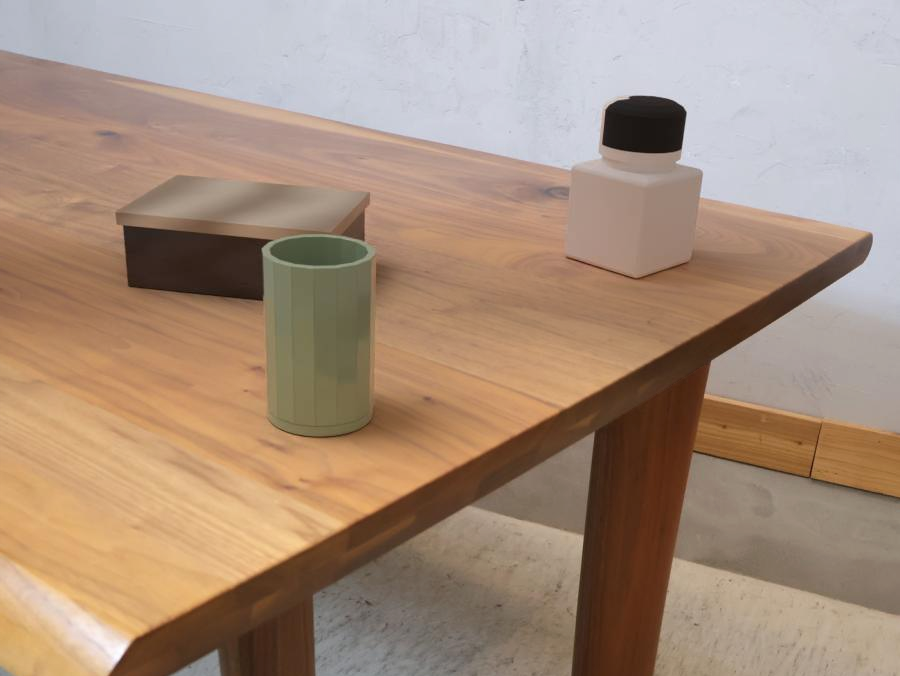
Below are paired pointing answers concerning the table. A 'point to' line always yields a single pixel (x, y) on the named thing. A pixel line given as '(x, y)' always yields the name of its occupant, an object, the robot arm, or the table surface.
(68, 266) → the table surface
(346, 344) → the cup
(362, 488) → the table surface
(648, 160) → the medicine bottle
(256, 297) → the shoebox
